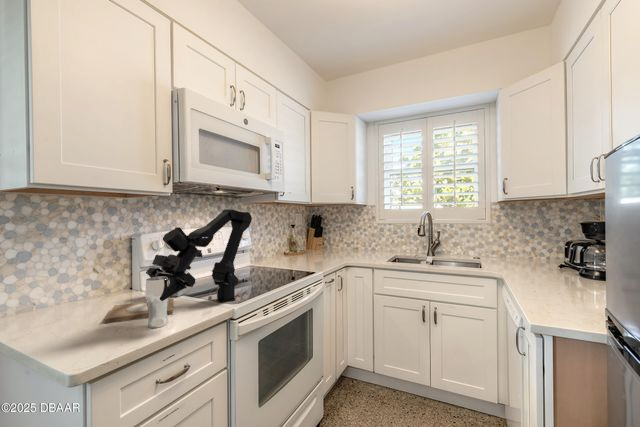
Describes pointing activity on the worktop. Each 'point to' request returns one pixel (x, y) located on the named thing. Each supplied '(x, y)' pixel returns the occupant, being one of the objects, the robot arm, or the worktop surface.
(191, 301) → the worktop surface
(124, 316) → the walnut board
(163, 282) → the beer glass
